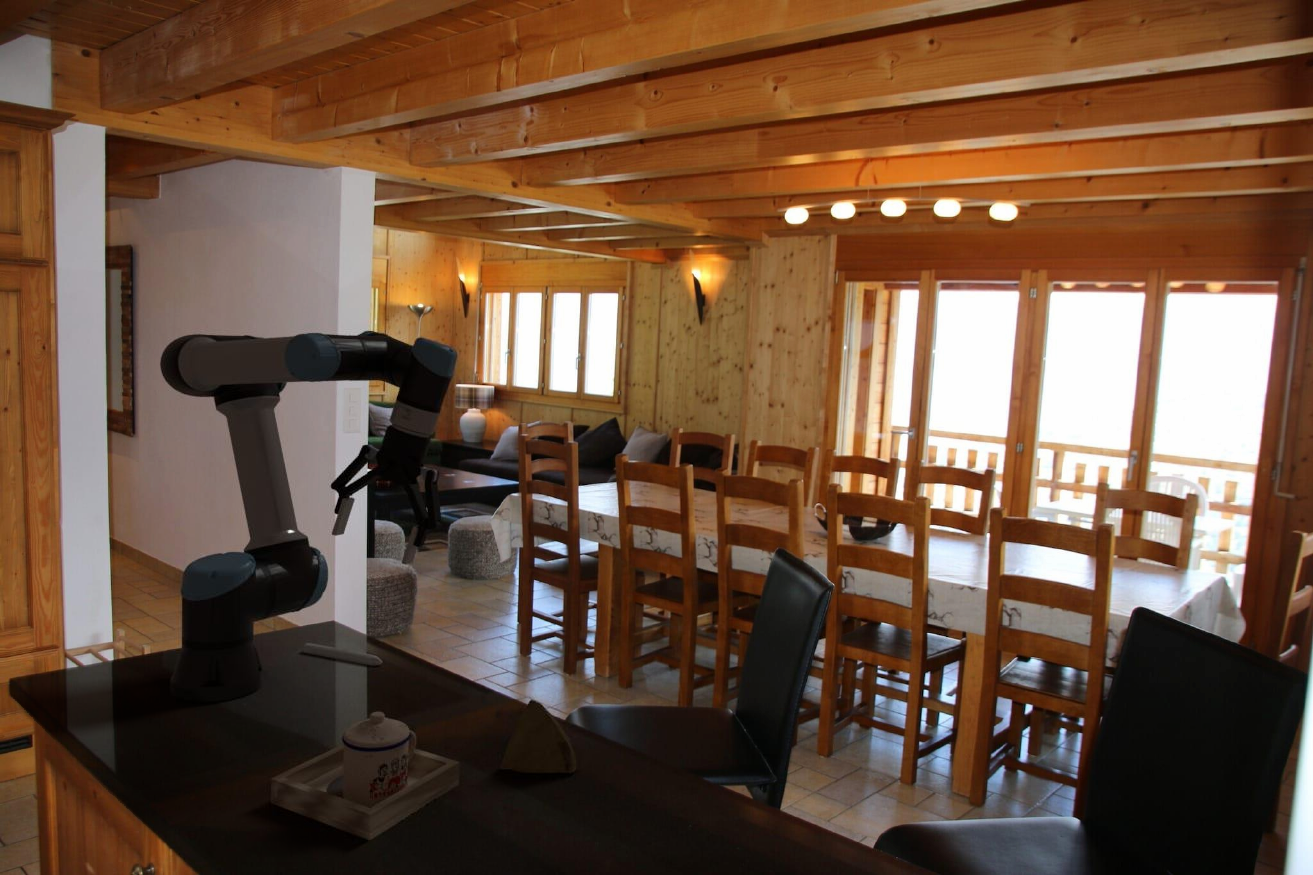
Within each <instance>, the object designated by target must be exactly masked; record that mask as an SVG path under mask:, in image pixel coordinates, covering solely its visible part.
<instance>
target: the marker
mask: <svg viewBox="0 0 1313 875" xmlns="http://www.w3.org/2000/svg"><path fill="white" fill-rule="evenodd" d="M302 648H303V649H302V650H303V653H305V654H310V655H315V656H319V657H324V658H329V659H333V660H334V659H335V660H341V661H346V662H351V663H356V664H361V665H366V666H375V667H377V666H379V665H381V664H383V660H381V658H380V657H378V656H377V655H374V654H369V653H364V652H358V651H355V650H354V651H352V650H349V649H346V648H343V649H342V648H339V647H331V646H327V645H323V644H322V645H321V644H316V643H310V642H307V643H305V644H304V646H303V647H302Z"/></svg>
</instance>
